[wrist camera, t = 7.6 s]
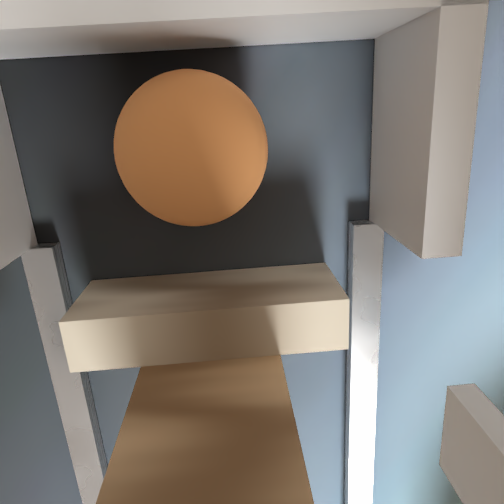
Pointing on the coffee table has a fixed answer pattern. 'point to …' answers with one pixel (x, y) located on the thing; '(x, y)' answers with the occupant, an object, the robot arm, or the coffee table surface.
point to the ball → (190, 147)
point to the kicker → (207, 378)
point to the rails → (357, 362)
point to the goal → (284, 32)
